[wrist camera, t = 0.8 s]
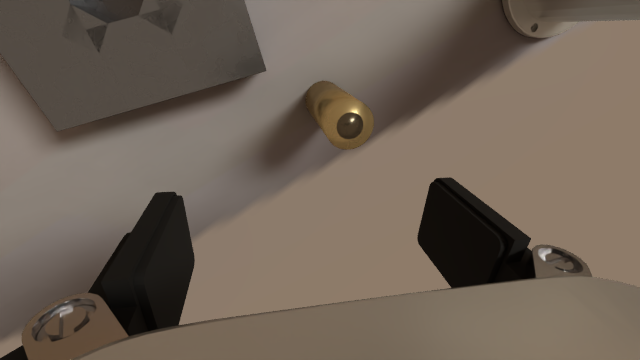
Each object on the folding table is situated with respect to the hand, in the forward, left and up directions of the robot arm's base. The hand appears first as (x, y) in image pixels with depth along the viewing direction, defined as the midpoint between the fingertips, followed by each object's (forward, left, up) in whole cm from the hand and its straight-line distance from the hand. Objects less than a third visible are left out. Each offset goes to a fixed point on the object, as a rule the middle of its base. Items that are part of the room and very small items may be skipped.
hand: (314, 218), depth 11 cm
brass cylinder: (-5, +2, -23) cm, 23 cm away
